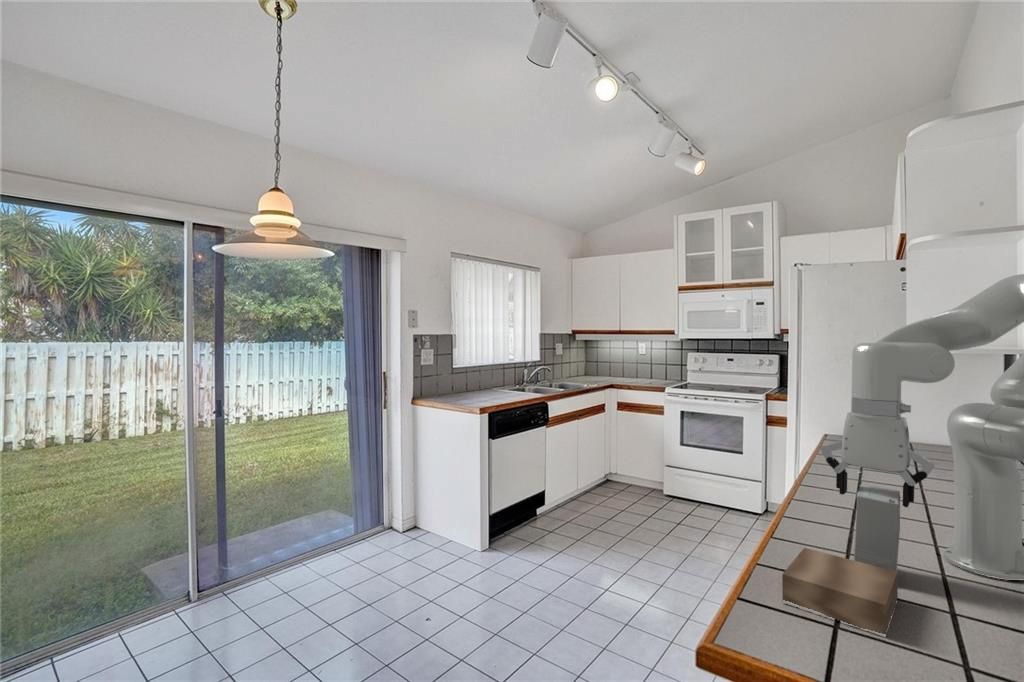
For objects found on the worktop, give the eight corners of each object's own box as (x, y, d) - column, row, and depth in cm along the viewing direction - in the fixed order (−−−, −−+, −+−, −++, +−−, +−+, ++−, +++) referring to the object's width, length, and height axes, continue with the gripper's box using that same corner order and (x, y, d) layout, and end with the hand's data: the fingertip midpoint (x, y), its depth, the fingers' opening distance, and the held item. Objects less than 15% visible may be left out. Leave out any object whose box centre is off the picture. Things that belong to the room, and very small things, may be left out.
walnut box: (897, 600, 83) (897, 571, 83) (885, 638, 73) (885, 605, 73) (804, 573, 93) (804, 547, 93) (782, 603, 83) (782, 574, 83)
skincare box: (855, 560, 98) (855, 482, 98) (901, 571, 94) (901, 489, 94) (851, 577, 92) (851, 493, 92) (900, 589, 87) (900, 500, 87)
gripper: (937, 411, 89) (935, 505, 89) (826, 402, 101) (824, 484, 101) (934, 416, 84) (932, 516, 84) (817, 405, 96) (815, 492, 96)
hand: (873, 498), depth 92 cm, fingers open, 9 cm apart
